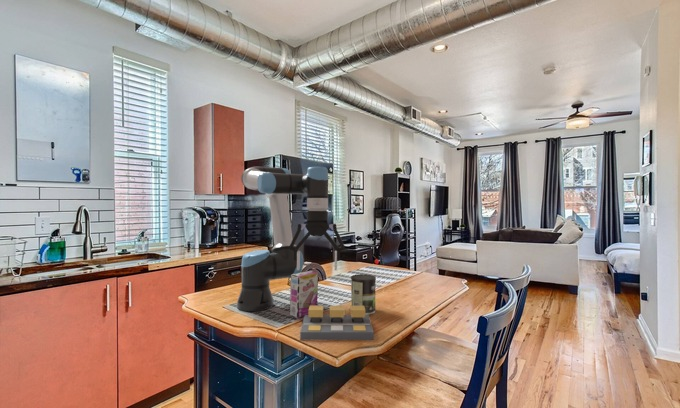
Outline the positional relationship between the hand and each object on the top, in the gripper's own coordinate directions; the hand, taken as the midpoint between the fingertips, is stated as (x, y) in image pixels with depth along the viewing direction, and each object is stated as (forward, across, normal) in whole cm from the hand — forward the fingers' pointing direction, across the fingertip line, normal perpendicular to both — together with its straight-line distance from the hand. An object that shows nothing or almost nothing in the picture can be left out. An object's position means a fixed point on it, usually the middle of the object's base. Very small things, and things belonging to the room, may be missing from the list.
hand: (317, 269), depth 114 cm
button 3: (+19, +15, 0) cm, 24 cm away
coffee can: (+21, +18, +17) cm, 33 cm away
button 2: (+18, +7, 0) cm, 20 cm away
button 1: (+19, 0, 0) cm, 19 cm away
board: (+21, +7, -3) cm, 22 cm away
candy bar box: (+21, -6, +13) cm, 25 cm away
